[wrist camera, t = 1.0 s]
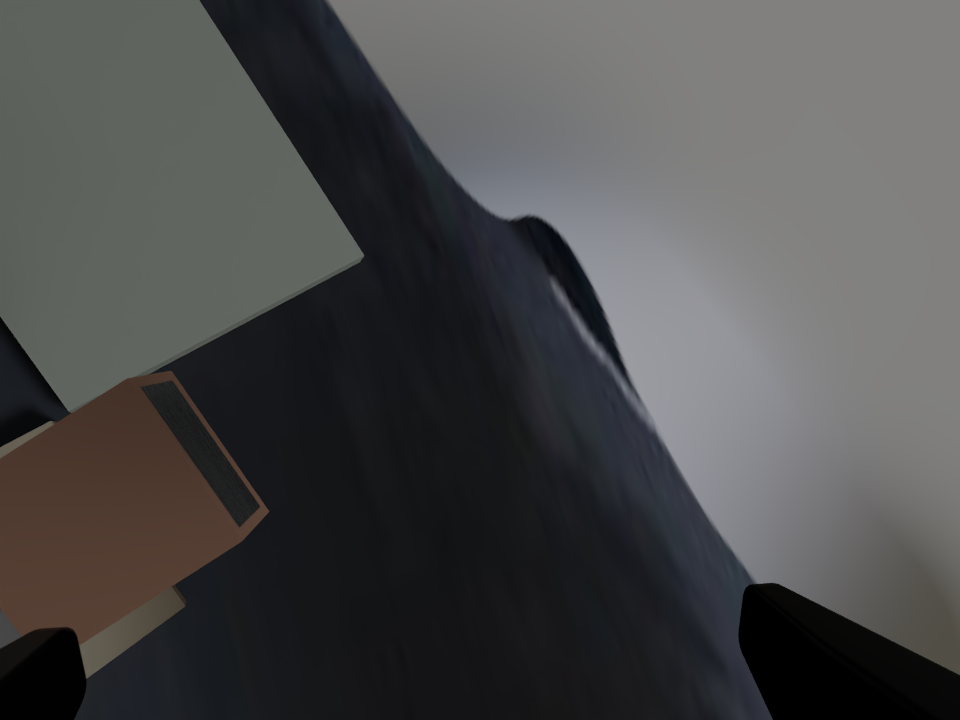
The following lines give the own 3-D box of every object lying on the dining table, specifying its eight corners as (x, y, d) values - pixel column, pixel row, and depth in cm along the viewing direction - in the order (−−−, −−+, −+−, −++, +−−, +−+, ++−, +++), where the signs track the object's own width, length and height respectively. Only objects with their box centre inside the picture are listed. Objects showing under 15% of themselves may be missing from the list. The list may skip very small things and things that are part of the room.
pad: (74, 413, 18) (68, 411, 18) (-186, 52, 17) (-203, 33, 16) (359, 262, 23) (364, 255, 22) (171, -28, 22) (170, -44, 21)
